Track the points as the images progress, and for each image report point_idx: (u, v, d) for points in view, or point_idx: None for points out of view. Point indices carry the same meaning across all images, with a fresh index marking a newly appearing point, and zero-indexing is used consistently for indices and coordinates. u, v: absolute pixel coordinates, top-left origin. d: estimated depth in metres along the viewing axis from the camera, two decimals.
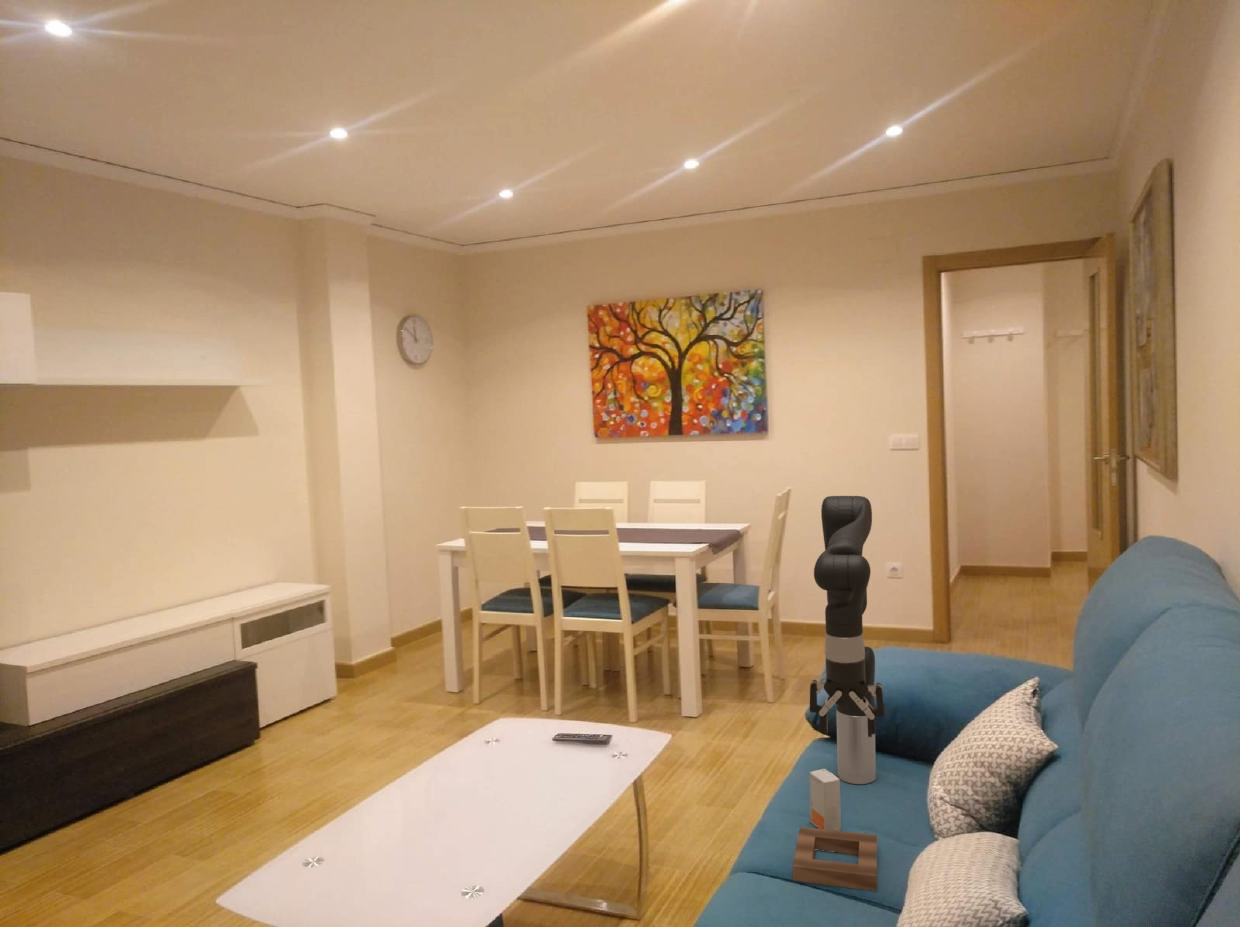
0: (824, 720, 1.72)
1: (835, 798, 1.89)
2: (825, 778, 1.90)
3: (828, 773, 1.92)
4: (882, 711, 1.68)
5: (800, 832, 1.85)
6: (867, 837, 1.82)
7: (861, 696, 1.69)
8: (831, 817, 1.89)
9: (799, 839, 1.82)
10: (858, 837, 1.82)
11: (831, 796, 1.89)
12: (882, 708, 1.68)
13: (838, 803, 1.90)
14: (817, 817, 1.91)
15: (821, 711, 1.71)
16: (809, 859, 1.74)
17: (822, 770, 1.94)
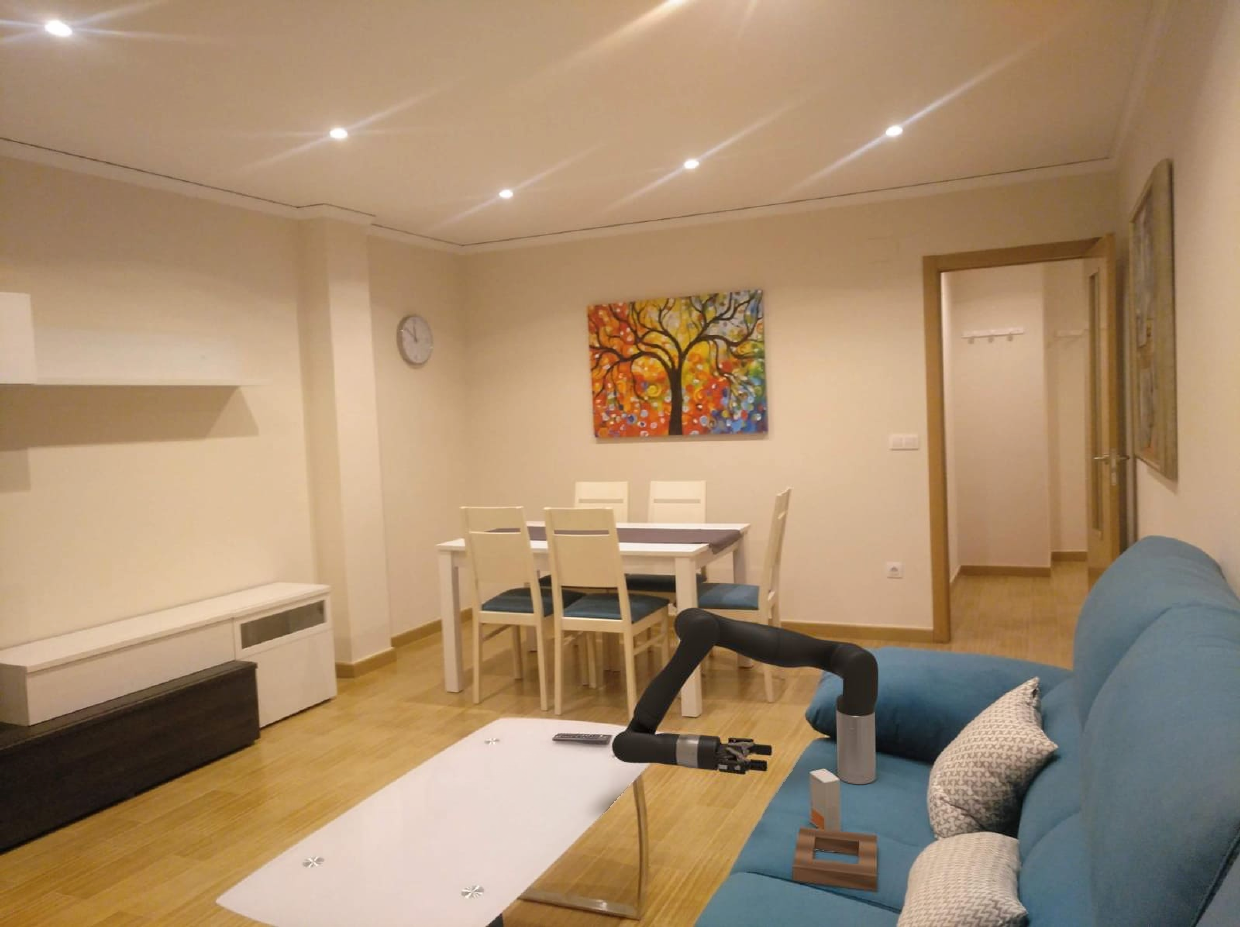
0: None
1: (835, 798, 1.89)
2: (825, 778, 1.90)
3: (828, 773, 1.92)
4: None
5: (800, 832, 1.85)
6: (867, 837, 1.82)
7: None
8: (831, 817, 1.89)
9: (799, 839, 1.82)
10: (858, 837, 1.82)
11: (831, 796, 1.89)
12: None
13: (838, 803, 1.90)
14: (817, 817, 1.91)
15: None
16: (809, 859, 1.74)
17: (822, 770, 1.94)
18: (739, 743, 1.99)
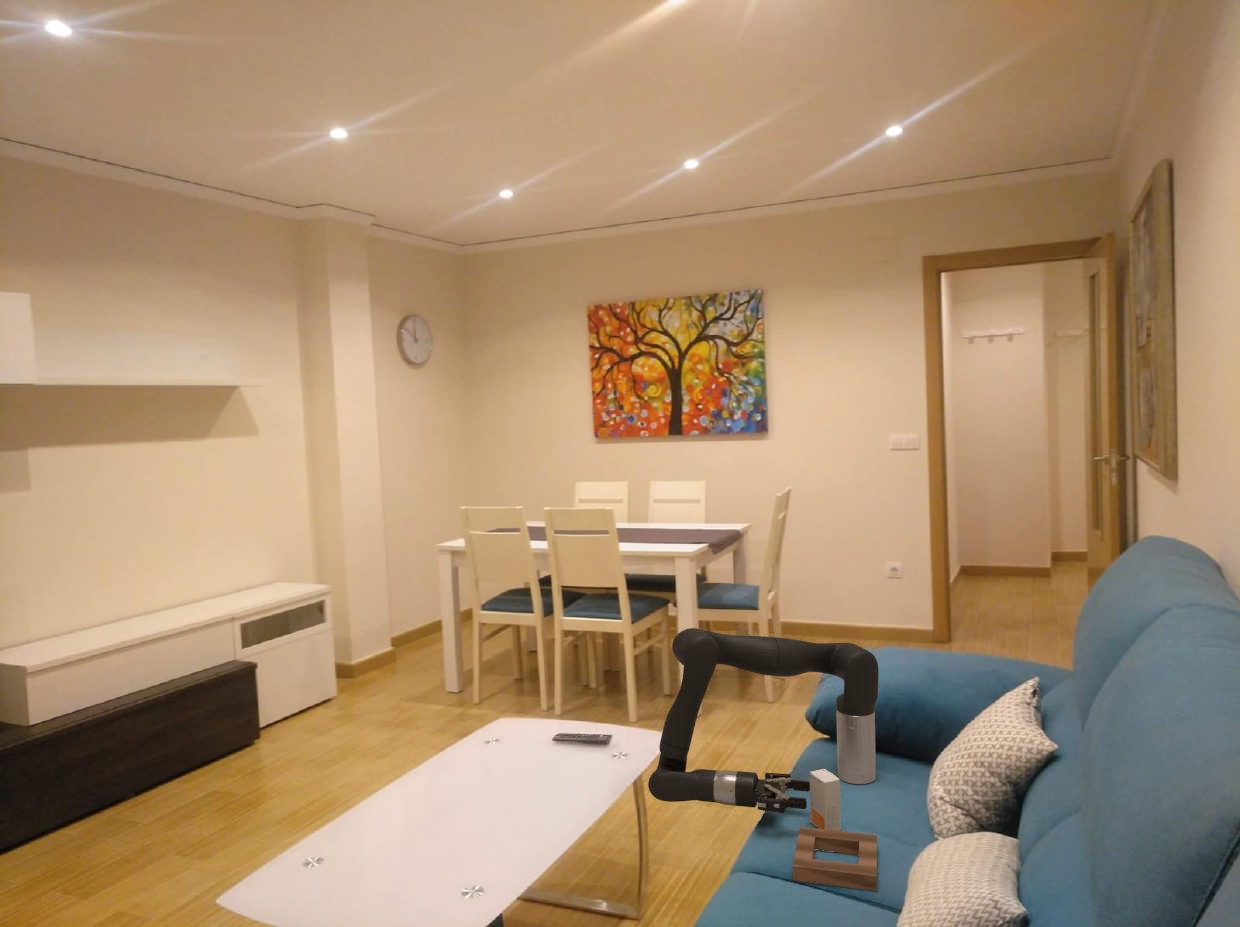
0: None
1: (835, 798, 1.89)
2: (825, 778, 1.90)
3: (828, 773, 1.92)
4: None
5: (800, 832, 1.85)
6: (867, 837, 1.82)
7: None
8: (831, 817, 1.89)
9: (799, 839, 1.82)
10: (858, 837, 1.82)
11: (831, 796, 1.89)
12: None
13: (838, 803, 1.90)
14: (817, 817, 1.91)
15: None
16: (809, 859, 1.74)
17: (822, 770, 1.94)
18: (777, 779, 1.97)
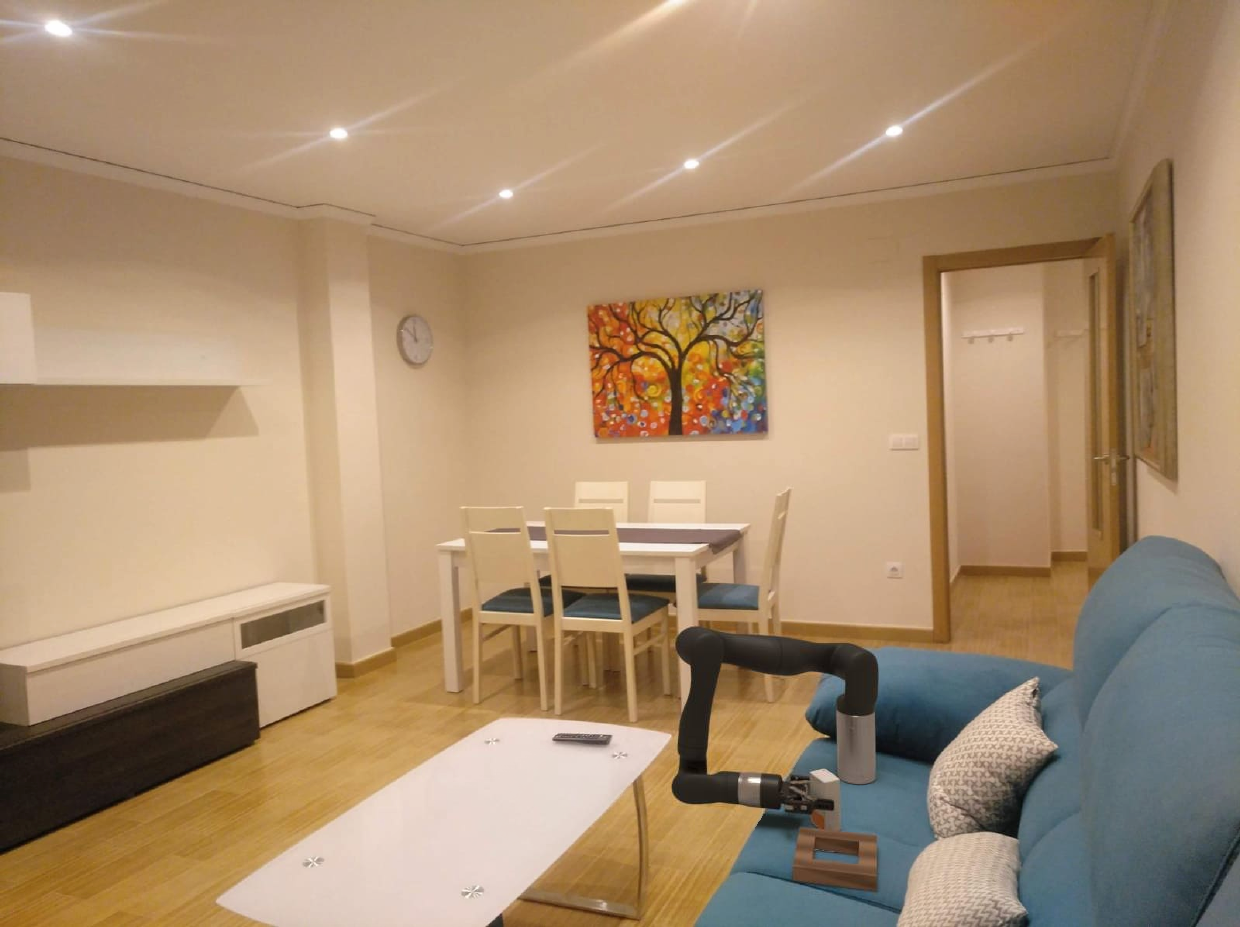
0: None
1: (835, 798, 1.89)
2: (826, 778, 1.90)
3: (828, 773, 1.92)
4: None
5: (800, 832, 1.85)
6: (867, 837, 1.82)
7: None
8: (831, 817, 1.89)
9: (799, 839, 1.82)
10: (858, 837, 1.82)
11: (831, 796, 1.89)
12: None
13: (838, 803, 1.90)
14: (817, 817, 1.91)
15: None
16: (809, 859, 1.74)
17: (822, 770, 1.94)
18: (802, 782, 1.96)
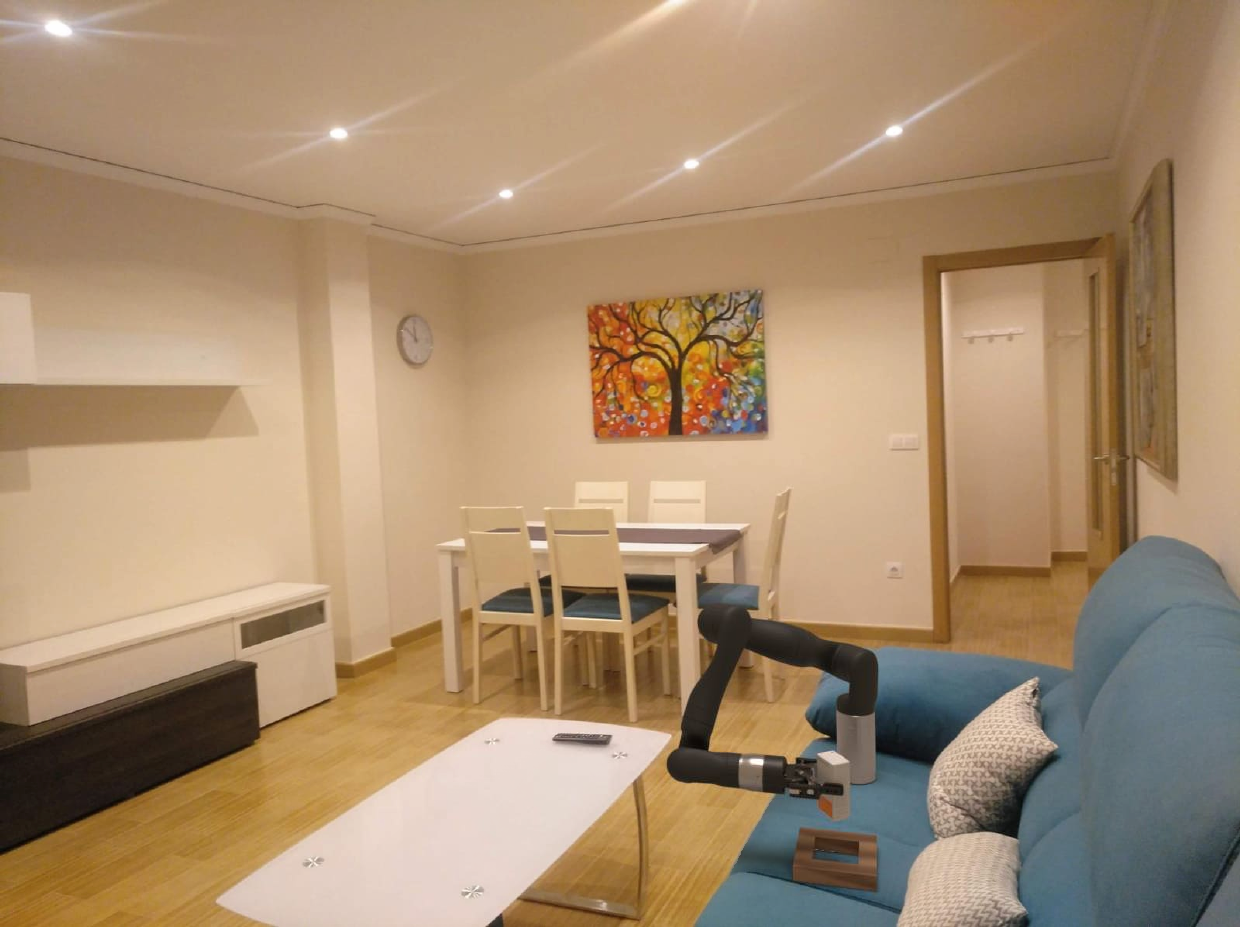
0: None
1: (844, 782, 1.73)
2: (834, 761, 1.74)
3: (837, 755, 1.76)
4: None
5: (800, 832, 1.85)
6: (867, 837, 1.82)
7: None
8: (840, 803, 1.73)
9: (799, 839, 1.82)
10: (858, 837, 1.82)
11: (840, 779, 1.73)
12: None
13: (848, 788, 1.74)
14: (825, 803, 1.75)
15: None
16: (809, 859, 1.74)
17: (830, 752, 1.78)
18: (808, 764, 1.80)
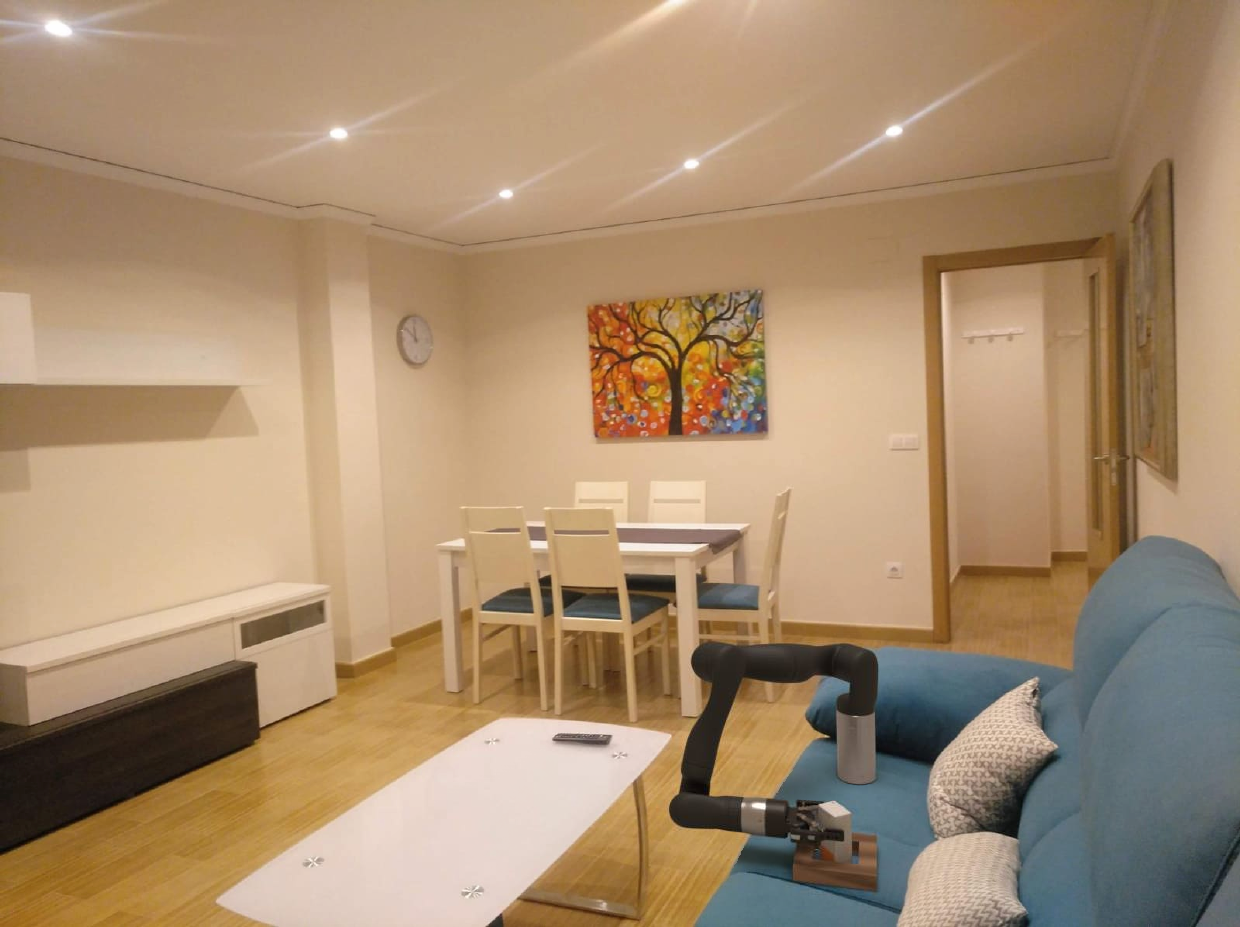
0: None
1: (846, 833, 1.74)
2: (836, 812, 1.74)
3: (838, 806, 1.77)
4: None
5: None
6: (867, 837, 1.82)
7: None
8: (842, 854, 1.74)
9: None
10: (858, 837, 1.82)
11: None
12: None
13: (849, 839, 1.74)
14: (827, 854, 1.76)
15: None
16: (809, 859, 1.74)
17: (832, 802, 1.79)
18: (810, 807, 1.80)
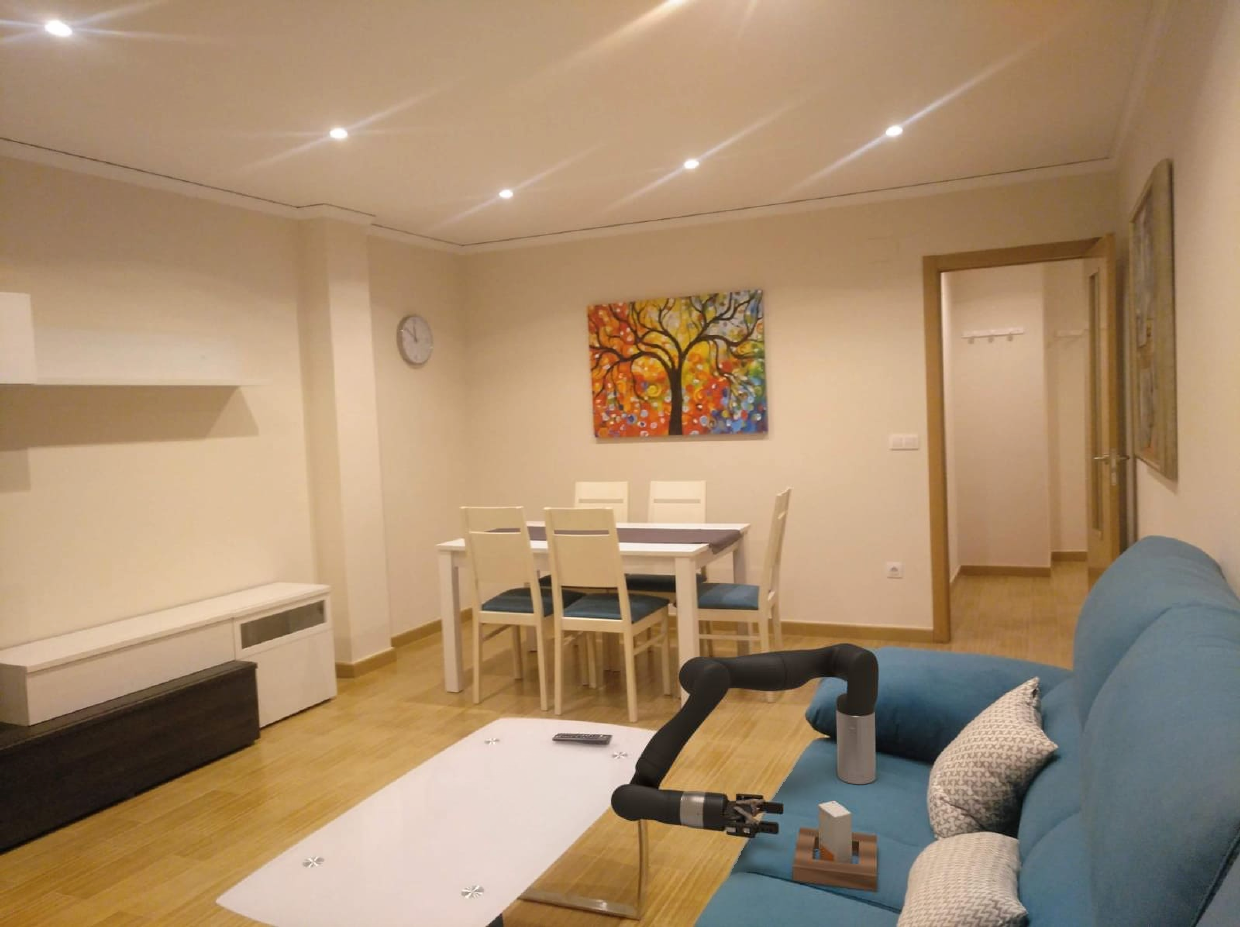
0: None
1: (846, 833, 1.74)
2: (836, 812, 1.74)
3: (838, 806, 1.77)
4: None
5: (800, 832, 1.85)
6: (867, 837, 1.82)
7: None
8: (842, 854, 1.74)
9: (799, 839, 1.82)
10: (858, 837, 1.82)
11: (841, 831, 1.74)
12: None
13: (849, 839, 1.74)
14: (827, 854, 1.76)
15: None
16: (809, 859, 1.74)
17: (832, 802, 1.79)
18: (748, 801, 1.84)
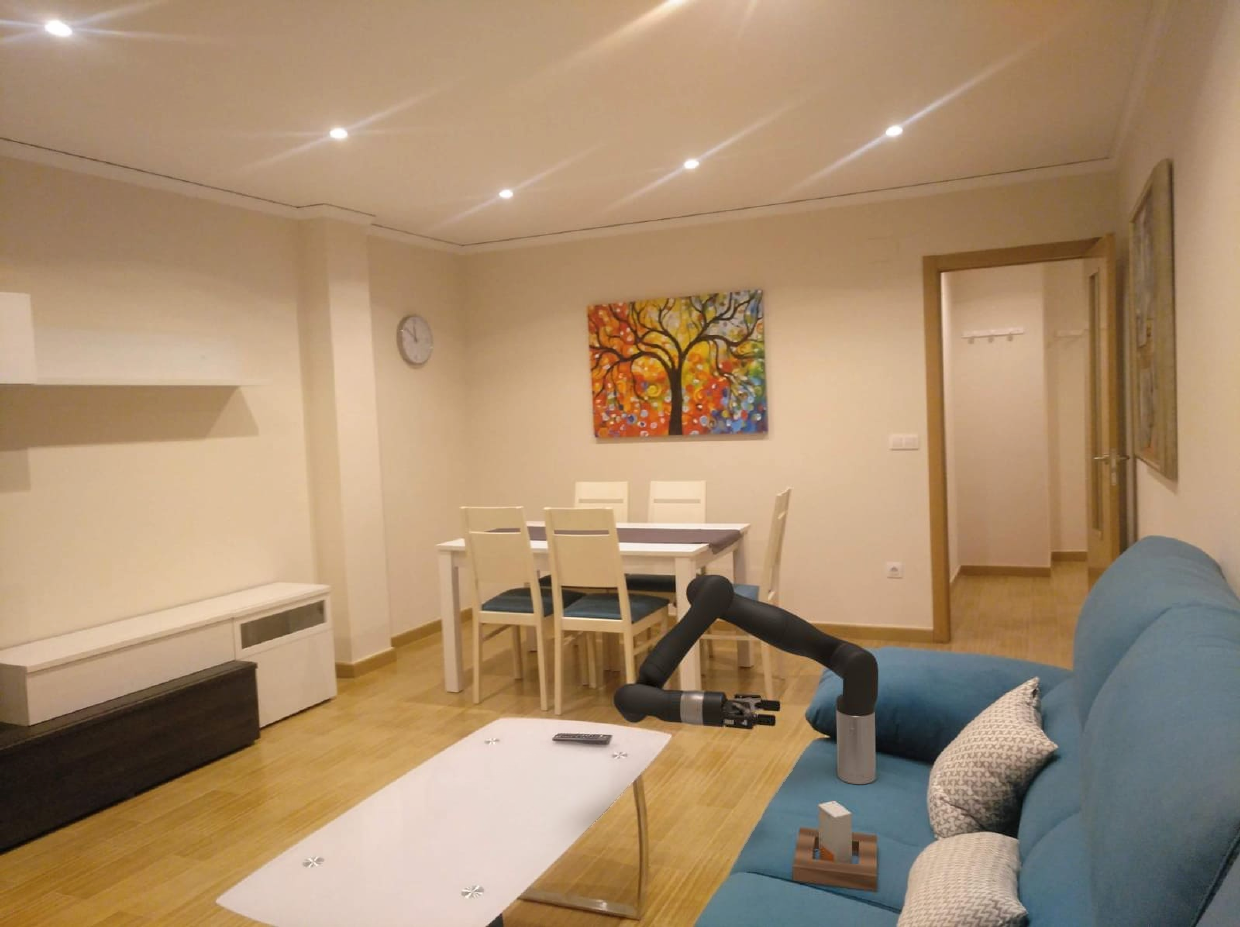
0: None
1: (846, 833, 1.74)
2: (836, 812, 1.74)
3: (838, 806, 1.77)
4: None
5: (800, 832, 1.85)
6: (867, 837, 1.82)
7: None
8: (842, 854, 1.74)
9: (799, 839, 1.82)
10: (858, 837, 1.82)
11: (841, 831, 1.74)
12: None
13: (849, 839, 1.74)
14: (827, 854, 1.76)
15: None
16: (809, 859, 1.74)
17: (832, 802, 1.79)
18: (746, 699, 1.91)
